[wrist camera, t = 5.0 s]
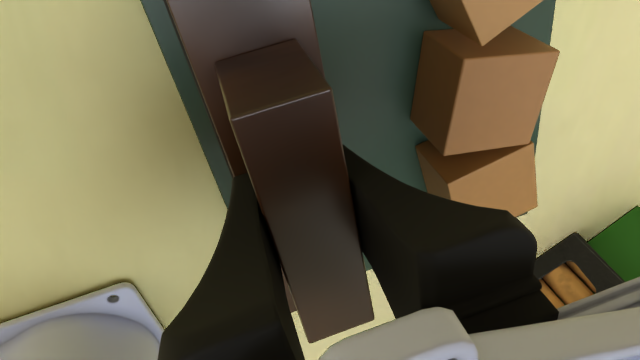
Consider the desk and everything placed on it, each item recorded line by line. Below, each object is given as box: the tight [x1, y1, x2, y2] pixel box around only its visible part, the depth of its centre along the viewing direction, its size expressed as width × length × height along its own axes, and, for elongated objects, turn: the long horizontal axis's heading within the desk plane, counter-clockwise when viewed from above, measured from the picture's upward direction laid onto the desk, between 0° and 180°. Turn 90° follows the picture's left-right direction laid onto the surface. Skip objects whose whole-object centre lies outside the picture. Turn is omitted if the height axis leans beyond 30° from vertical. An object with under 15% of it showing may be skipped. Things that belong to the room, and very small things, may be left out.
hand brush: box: [163, 0, 374, 343], centre depth 16 cm, size 4×14×7 cm, turn 10°
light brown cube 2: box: [410, 26, 560, 156], centre depth 18 cm, size 4×4×3 cm
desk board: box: [140, 0, 556, 271], centre depth 19 cm, size 15×20×1 cm
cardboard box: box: [415, 140, 537, 217], centre depth 21 cm, size 4×4×3 cm
